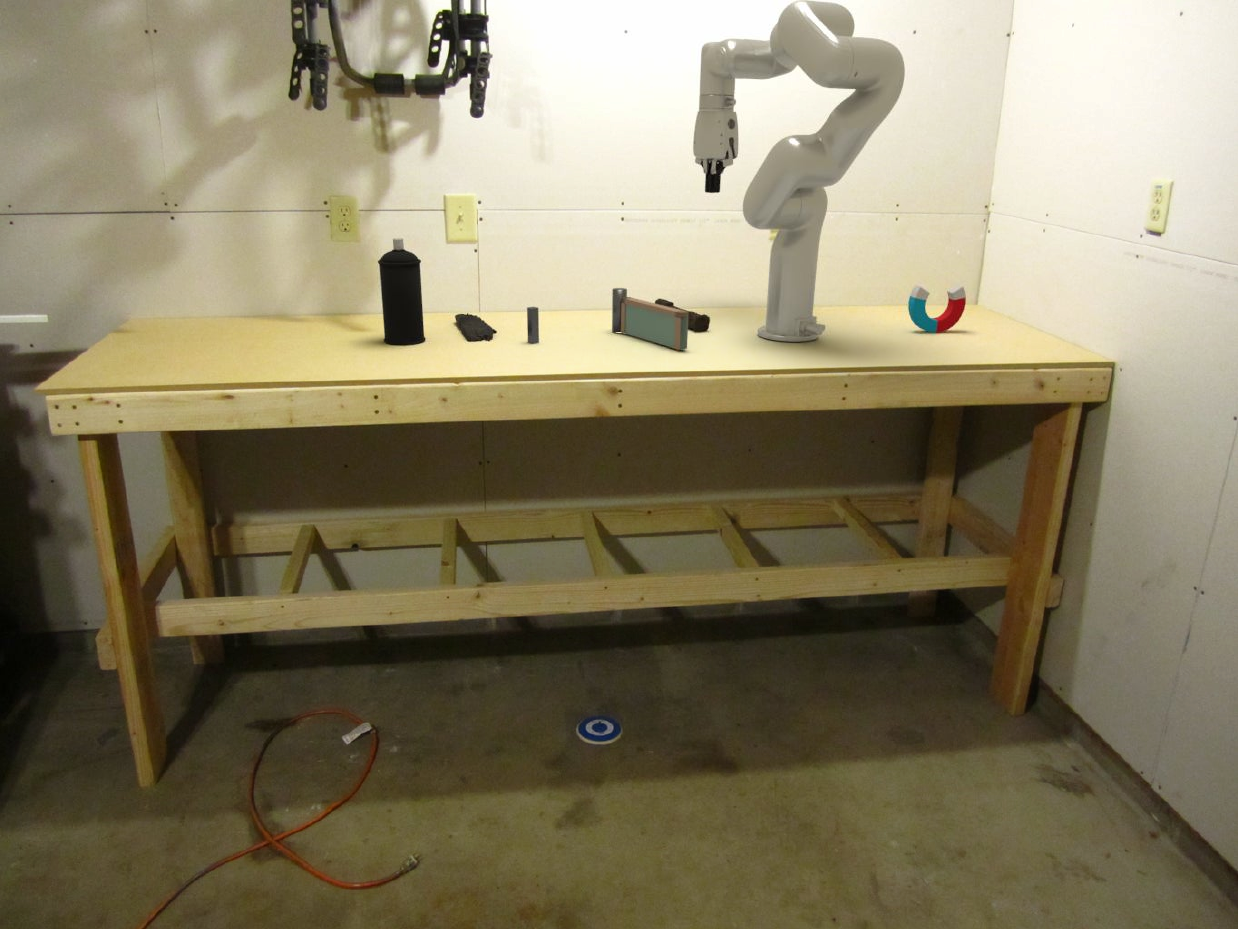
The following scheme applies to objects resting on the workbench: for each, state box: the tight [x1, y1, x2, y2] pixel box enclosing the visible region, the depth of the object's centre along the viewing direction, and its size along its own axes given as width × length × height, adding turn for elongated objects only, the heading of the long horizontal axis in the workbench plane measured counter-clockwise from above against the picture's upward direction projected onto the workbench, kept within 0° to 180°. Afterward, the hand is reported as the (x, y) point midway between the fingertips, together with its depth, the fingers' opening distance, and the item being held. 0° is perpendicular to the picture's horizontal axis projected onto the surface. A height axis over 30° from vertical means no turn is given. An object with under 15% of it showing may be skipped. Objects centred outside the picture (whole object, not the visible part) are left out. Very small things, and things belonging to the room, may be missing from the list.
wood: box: [454, 312, 498, 343], centre depth 198 cm, size 22×7×3 cm, turn 17°
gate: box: [621, 296, 689, 351], centre depth 188 cm, size 2×19×7 cm, turn 36°
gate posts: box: [526, 287, 628, 344], centre depth 192 cm, size 3×23×9 cm, turn 124°
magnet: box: [907, 284, 967, 334], centre depth 201 cm, size 12×3×10 cm, turn 97°
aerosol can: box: [377, 237, 426, 346], centre depth 184 cm, size 8×8×20 cm
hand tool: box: [654, 298, 711, 333], centre depth 206 cm, size 19×4×5 cm, turn 28°
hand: (712, 192), depth 210 cm, fingers closed
